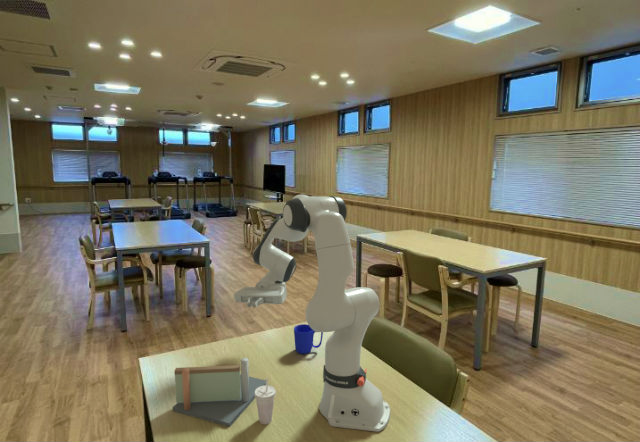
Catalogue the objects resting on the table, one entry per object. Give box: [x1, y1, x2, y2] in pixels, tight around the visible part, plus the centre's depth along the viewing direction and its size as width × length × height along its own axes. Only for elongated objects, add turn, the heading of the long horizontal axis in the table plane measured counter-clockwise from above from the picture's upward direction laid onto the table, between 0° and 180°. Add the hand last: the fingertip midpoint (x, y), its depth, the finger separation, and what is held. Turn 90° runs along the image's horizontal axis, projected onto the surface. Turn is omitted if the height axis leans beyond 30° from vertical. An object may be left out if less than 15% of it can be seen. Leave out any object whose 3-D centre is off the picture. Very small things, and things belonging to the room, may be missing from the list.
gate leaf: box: [174, 364, 241, 404], centre depth 123 cm, size 20×2×11 cm, turn 96°
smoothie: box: [254, 377, 277, 425], centre depth 116 cm, size 6×6×14 cm
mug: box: [293, 323, 324, 355], centre depth 159 cm, size 8×12×10 cm
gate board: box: [172, 357, 266, 428], centre depth 127 cm, size 21×24×15 cm
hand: (251, 305), depth 142 cm, fingers closed
